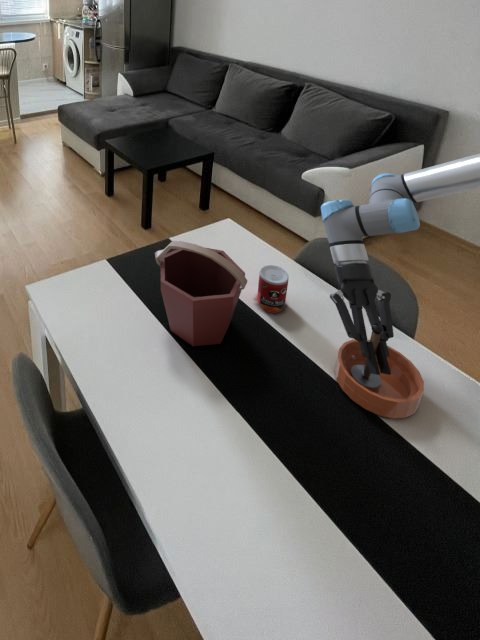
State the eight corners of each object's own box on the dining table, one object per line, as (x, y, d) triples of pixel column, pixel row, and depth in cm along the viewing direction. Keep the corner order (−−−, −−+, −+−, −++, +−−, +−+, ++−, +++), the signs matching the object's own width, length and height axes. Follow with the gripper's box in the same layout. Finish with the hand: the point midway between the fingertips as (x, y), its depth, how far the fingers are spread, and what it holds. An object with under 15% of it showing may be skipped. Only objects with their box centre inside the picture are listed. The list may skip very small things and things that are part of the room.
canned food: (257, 311, 124) (260, 281, 120) (255, 292, 131) (258, 263, 127) (286, 315, 122) (290, 285, 118) (282, 296, 129) (286, 266, 125)
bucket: (140, 319, 125) (138, 249, 115) (185, 281, 138) (187, 215, 129) (214, 372, 107) (219, 294, 98) (258, 322, 120) (265, 250, 111)
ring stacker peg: (375, 371, 103) (389, 317, 96) (383, 393, 97) (398, 338, 91) (347, 365, 105) (359, 312, 98) (353, 387, 99) (366, 333, 93)
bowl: (403, 364, 105) (408, 346, 103) (430, 429, 91) (436, 410, 89) (328, 350, 111) (331, 333, 108) (342, 409, 96) (346, 391, 94)
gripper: (374, 264, 107) (404, 371, 98) (314, 266, 108) (338, 372, 99) (391, 261, 100) (426, 375, 91) (327, 263, 101) (355, 376, 92)
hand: (380, 373), depth 95 cm, fingers closed on ring stacker peg, 2 cm apart
